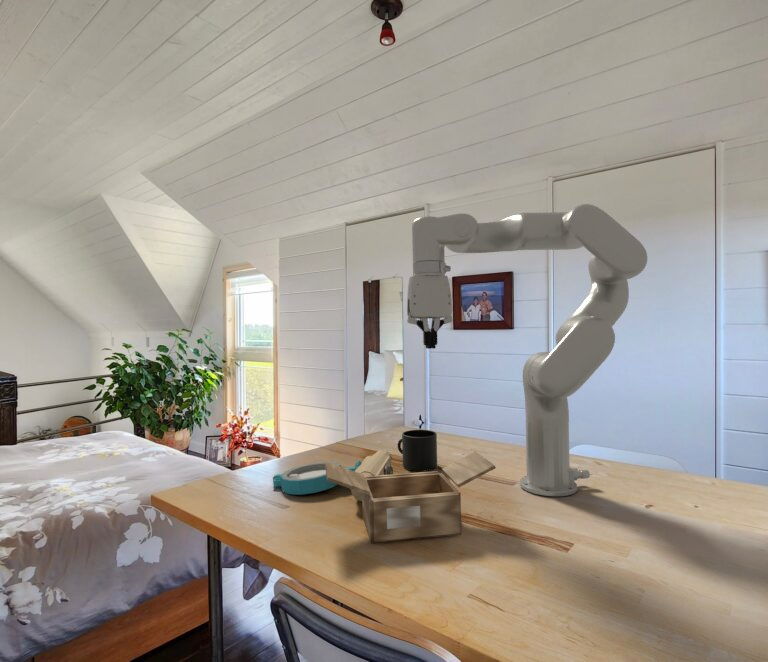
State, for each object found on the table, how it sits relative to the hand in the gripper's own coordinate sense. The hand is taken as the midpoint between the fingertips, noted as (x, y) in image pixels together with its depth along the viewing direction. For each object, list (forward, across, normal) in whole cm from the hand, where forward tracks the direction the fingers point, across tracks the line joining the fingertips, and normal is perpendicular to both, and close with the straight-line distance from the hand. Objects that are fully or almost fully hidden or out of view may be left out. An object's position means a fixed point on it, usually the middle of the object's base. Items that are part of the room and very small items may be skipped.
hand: (430, 348), depth 109 cm
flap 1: (+25, +18, +19) cm, 36 cm away
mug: (+33, 0, -18) cm, 38 cm away
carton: (+33, +10, +19) cm, 39 cm away
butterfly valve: (+34, +24, -6) cm, 41 cm away
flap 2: (+25, +2, +19) cm, 31 cm away
